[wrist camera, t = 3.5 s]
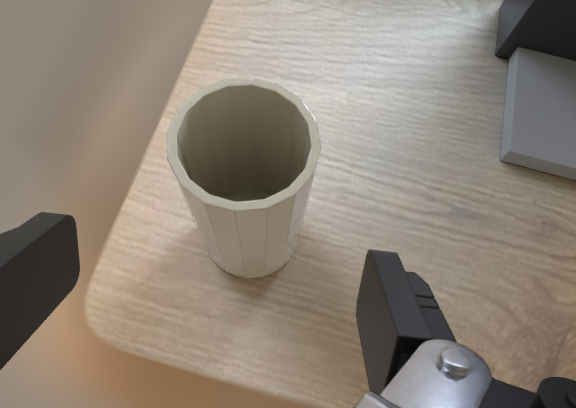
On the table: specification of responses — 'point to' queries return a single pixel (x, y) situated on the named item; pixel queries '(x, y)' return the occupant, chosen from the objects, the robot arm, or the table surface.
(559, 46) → the coffee maker
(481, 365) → the robot arm
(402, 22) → the table surface
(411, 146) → the table surface
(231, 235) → the container
